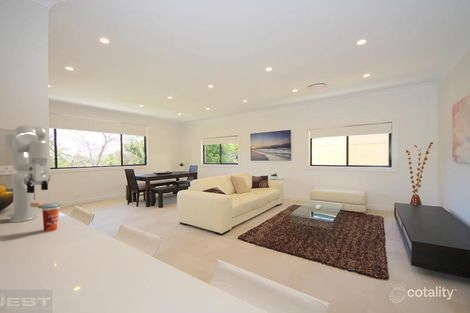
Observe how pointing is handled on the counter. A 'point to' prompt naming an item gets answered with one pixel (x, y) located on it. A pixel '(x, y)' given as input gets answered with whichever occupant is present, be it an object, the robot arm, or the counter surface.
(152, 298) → the counter surface
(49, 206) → the gray paddle
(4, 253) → the counter surface
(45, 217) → the paper cup
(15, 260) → the counter surface
